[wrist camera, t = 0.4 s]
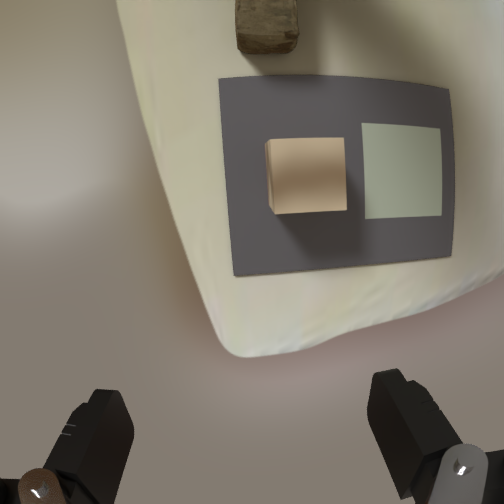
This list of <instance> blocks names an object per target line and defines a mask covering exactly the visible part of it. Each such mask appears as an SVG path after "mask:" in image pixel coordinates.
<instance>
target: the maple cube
mask: <svg viewBox="0 0 504 504" xmlns="http://www.w3.org/2000/svg"><path fill="white" fill-rule="evenodd" d="M265 154H266V169H267V184H268V200H269V206H270V207H271V209H272V211H273V212H274V214H287V213H303V212H320V211H339V210H347V198H346V169H345V149H344V138H286V139H270V140H269V141H268V142H266V143H265Z"/></svg>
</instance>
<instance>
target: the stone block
mask: <svg viewBox="0 0 504 504" xmlns="http://www.w3.org/2000/svg"><path fill="white" fill-rule="evenodd" d="M235 25H236V38H237V47H238V49H239V50H240V51H242V52H246V53H248V54H270V53H288V52H290V51H292V50H293V49H294V48H295V47H296V44H297V38H298V36H299V30H298V24H297V6H296V0H236V3H235Z"/></svg>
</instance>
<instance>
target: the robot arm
mask: <svg viewBox="0 0 504 504" xmlns="http://www.w3.org/2000/svg"><path fill="white" fill-rule="evenodd" d="M367 416H368V421H369V425H370V427H371V429H372V432H373V434H374V436H375V439H376V441H377V443H378V446H379V448H380V450H381V453H382V455H383V457H384V460H385V462H386V465H387V467H388V469H389V472H390V474H391V477H392V479H393V482H394V484H395V487H396V489H397V492H398V494H399V497H400V499H401V500H402V499H405V498H408V497H411V496H413V498H414V500H415V504H504V450H499V451H493V452H484V451H483V450H481V449H480V448H479V447H477V446H475V445H472V444H463V442H462V441H461V440H460V438H459V437H458V435H457V433H456V432H455V430H454V429H453V427H452V426H451V424H450V423H449V421H448V420H447V418H446V417H445V415H444V414H443V412H442V411H441V410H439V407H438V405H437V404H436V403H435V401H433V398H432V396H431V395H430V394H429V392H428V391H427V389H426V388H425V387H423V386H422V385H420V384H419V383H417V382H416V381H414V380H412V381H408V382H407V381H406V379H405V378H404V376H403V375H402V373H401V372H400V371H399V369H397V368H396V369H391V370H386V371H381V372H376V373H375V374H374V375H373V378H372V384H371V389H370V396H369V401H368V406H367ZM133 439H134V426H133V422H132V420H131V417H130V415H129V413H128V411H127V408H126V406H125V403H124V401H123V398H122V396H121V394H120V392H119V391H117V390H104V389H96V390H95V391H94V392H93V394H92V396H91V397H90V399H89V401H88V403H82V404H81V405H80V406H79V407H78V408H76V410H74V411H73V412H72V414H71V416H70V418H69V419H68V421H67V425H65V427H64V428H63V430H62V434H60V436H59V438H58V440H57V441H56V443H55V445H54V447H53V449H52V451H51V453H50V455H49V457H48V459H47V461H46V463H45V465H44V466H43V468H35V469H32V470H30V471H28V472H26V473H25V474H24V475H23V476H22V477H21V479H1V478H0V504H114V501H115V498H116V495H117V491H118V488H119V484H120V481H121V478H122V474H123V471H124V468H125V465H126V462H127V458H128V455H129V452H130V449H131V445H132V443H133Z"/></svg>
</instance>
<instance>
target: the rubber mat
mask: <svg viewBox="0 0 504 504" xmlns="http://www.w3.org/2000/svg"><path fill="white" fill-rule="evenodd" d="M219 94H220V109H221V124H222V138H223V152H224V165H225V178H226V191H227V203H228V215H229V227H230V238H231V250H232V261H233V272H234V276H235V275H249V274H262V273H275V272H287V271H300V270H311V269H323V268H334V267H346V266H357V265H367V264H378V263H388V262H398V261H408V260H418V259H428V258H437V257H446V256H451V252H452V240H453V226H454V203H455V160H454V138H453V124H452V112H451V103H450V94H449V89H445V88H439V87H434V86H428V85H422V84H415V83H408V82H401V81H392V80H384V79H373V78H362V77H347V76H326V75H269V76H248V77H233V78H221V79H219ZM286 138H344V149H345V169H346V198H347V210H339V211H320V212H303V213H287V214H274V212H273V211H272V209H271V207H270V206H269V200H268V184H267V169H266V154H265V143H266V142H268V141H269V140H270V139H286Z"/></svg>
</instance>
